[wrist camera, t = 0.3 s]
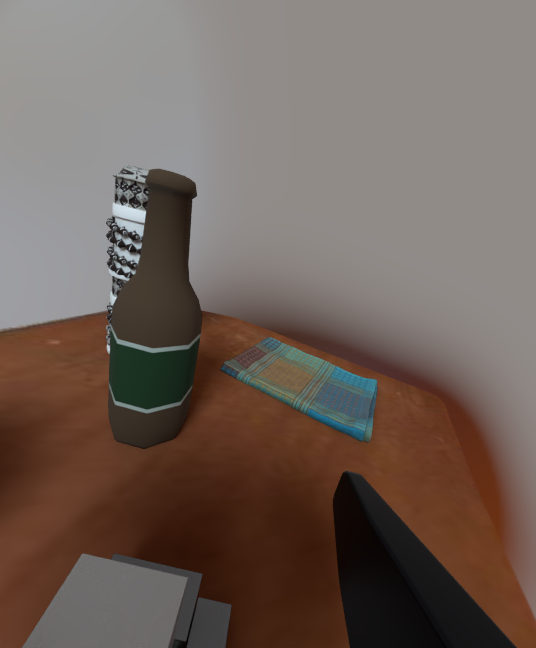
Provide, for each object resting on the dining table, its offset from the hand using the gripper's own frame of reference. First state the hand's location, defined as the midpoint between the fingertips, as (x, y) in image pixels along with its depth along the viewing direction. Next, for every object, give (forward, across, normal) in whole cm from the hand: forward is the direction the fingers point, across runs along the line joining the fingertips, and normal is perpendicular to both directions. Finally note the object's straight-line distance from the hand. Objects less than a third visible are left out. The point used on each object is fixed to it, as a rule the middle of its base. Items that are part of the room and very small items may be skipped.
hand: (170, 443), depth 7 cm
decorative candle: (+32, +17, +13) cm, 39 cm away
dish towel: (+35, -11, +14) cm, 39 cm away
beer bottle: (+18, +8, +15) cm, 25 cm away
